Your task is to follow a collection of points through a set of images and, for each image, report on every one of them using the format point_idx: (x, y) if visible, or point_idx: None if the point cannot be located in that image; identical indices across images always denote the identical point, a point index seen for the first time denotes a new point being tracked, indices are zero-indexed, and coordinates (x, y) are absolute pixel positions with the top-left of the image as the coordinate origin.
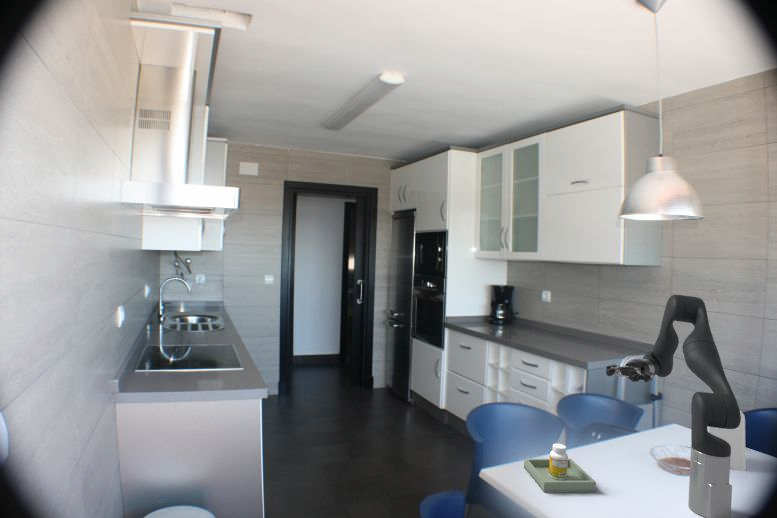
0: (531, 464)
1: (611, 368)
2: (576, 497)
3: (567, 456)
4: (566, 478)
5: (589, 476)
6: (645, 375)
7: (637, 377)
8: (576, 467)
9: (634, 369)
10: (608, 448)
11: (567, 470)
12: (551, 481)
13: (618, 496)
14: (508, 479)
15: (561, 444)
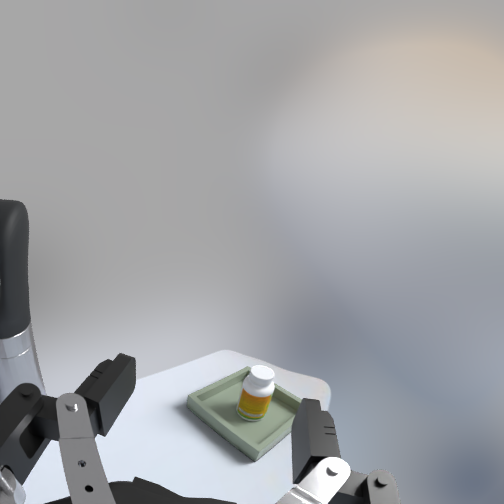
0: (292, 396)
1: (332, 460)
2: (205, 384)
3: (244, 383)
4: (237, 413)
5: (202, 406)
6: (37, 389)
7: (101, 366)
8: (234, 428)
9: (115, 501)
10: None
11: (249, 437)
12: (241, 371)
13: (152, 409)
14: (296, 381)
15: (263, 377)
